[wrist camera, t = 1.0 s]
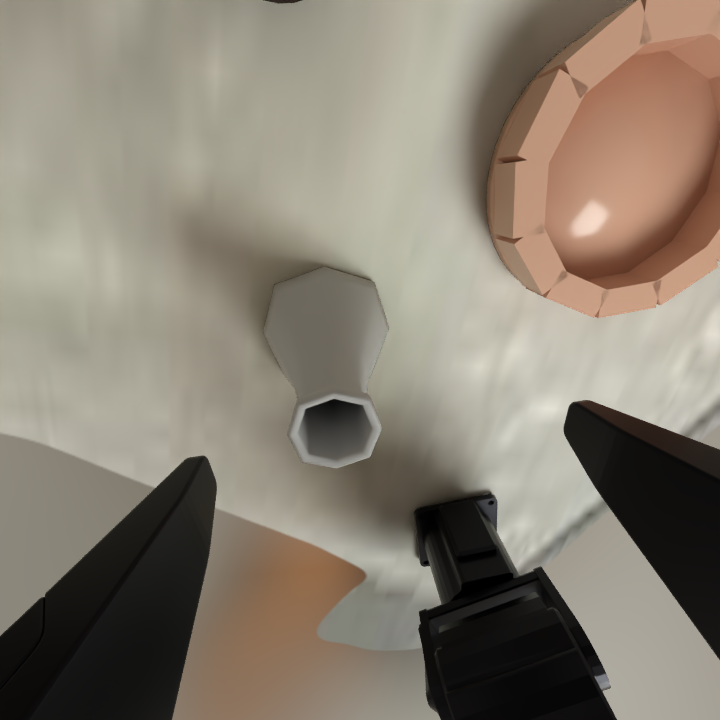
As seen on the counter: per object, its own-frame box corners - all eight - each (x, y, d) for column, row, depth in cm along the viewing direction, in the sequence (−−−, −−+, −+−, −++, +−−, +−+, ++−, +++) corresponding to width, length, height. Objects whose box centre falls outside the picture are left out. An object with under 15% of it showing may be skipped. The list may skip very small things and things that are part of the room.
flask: (256, 267, 19) (204, 337, 10) (390, 264, 20) (450, 327, 11) (270, 385, 22) (240, 518, 14) (386, 379, 23) (430, 502, 14)
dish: (690, 278, 22) (742, 291, 20) (485, 316, 22) (509, 334, 19) (763, -2, 17) (849, -37, 14) (487, 42, 16) (521, 13, 14)
